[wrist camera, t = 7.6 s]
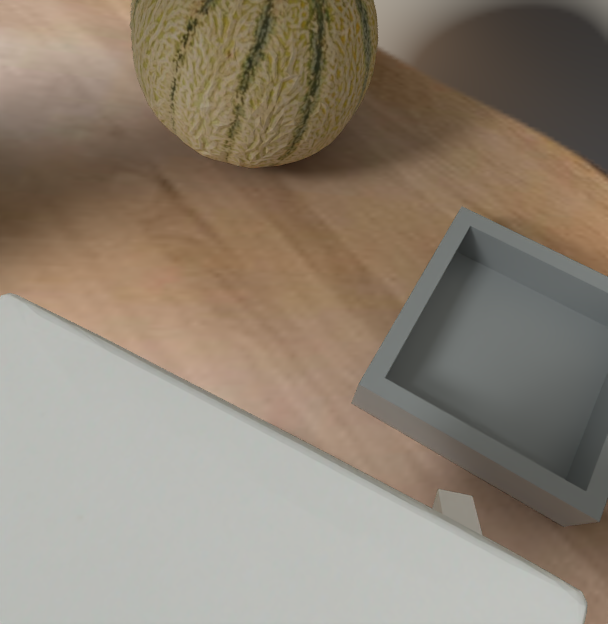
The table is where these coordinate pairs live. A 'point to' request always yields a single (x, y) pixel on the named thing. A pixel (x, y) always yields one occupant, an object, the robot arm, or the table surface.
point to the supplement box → (213, 509)
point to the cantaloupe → (254, 73)
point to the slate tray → (503, 368)
